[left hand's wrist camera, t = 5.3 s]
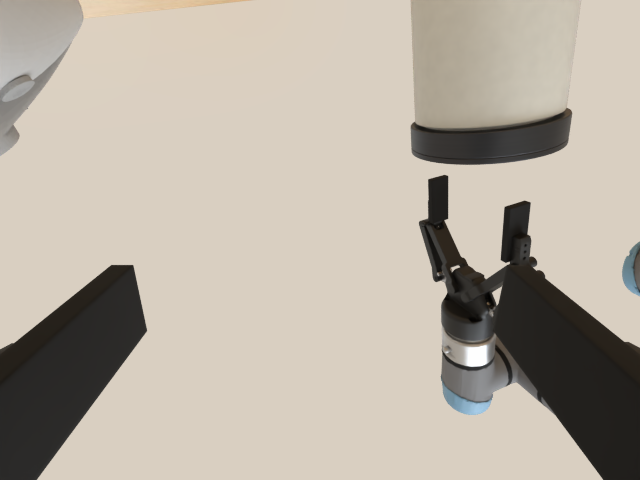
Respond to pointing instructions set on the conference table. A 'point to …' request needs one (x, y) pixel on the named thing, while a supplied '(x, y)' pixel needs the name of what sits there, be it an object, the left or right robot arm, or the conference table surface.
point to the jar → (491, 61)
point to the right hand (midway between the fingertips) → (472, 188)
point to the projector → (31, 53)
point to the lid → (492, 142)
